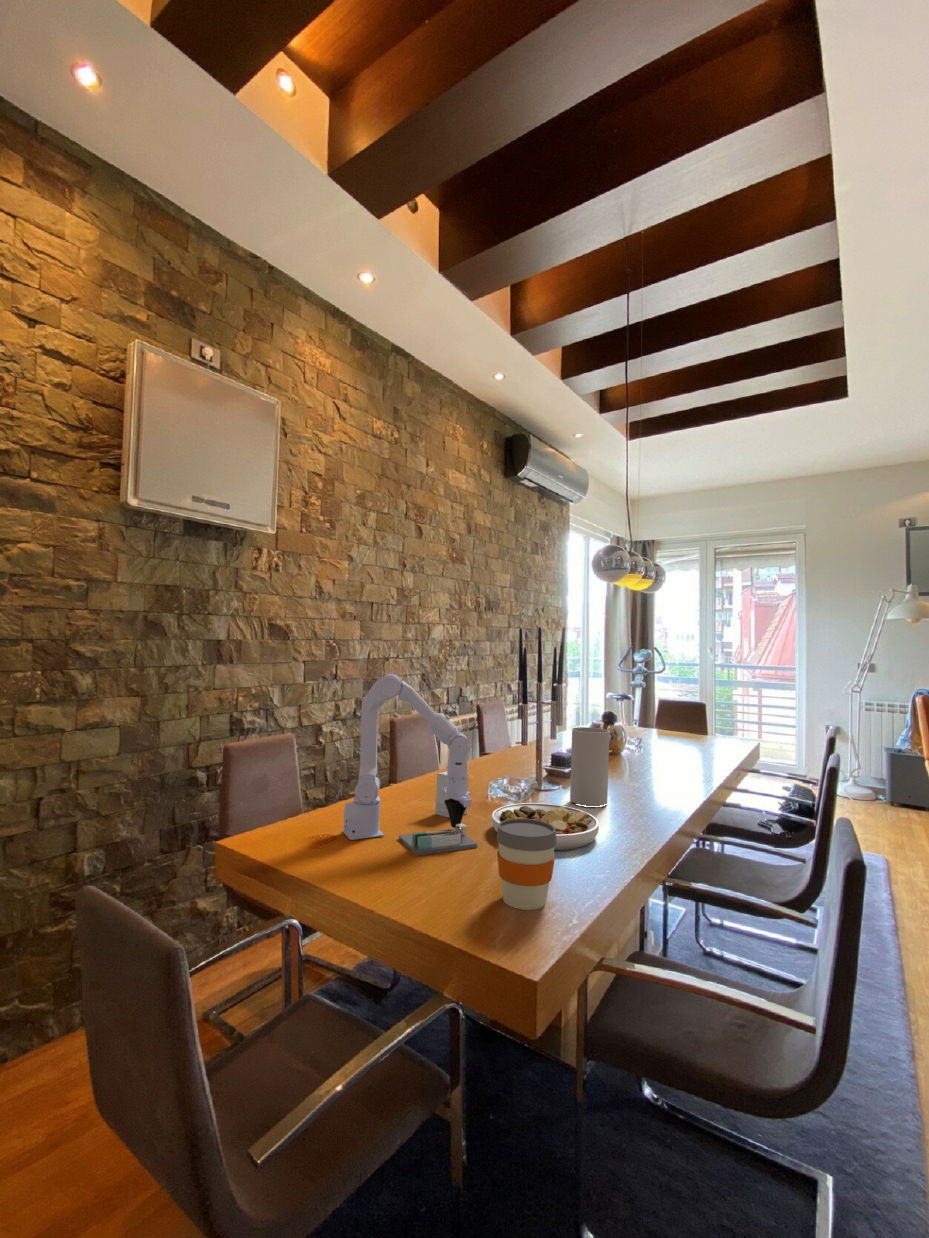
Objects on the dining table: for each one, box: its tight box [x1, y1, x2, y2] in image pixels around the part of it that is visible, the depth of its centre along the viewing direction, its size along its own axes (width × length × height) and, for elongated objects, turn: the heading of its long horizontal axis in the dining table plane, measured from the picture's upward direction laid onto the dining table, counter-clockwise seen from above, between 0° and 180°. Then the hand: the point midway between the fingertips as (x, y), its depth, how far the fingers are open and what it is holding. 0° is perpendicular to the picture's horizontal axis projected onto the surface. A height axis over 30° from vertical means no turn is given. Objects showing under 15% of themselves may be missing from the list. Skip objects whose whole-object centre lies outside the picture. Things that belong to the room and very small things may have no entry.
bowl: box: [491, 802, 600, 851], centre depth 163 cm, size 30×30×8 cm
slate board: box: [398, 828, 478, 856], centre depth 152 cm, size 17×13×1 cm
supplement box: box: [435, 771, 470, 819], centre depth 179 cm, size 7×7×13 cm
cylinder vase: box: [569, 726, 610, 806], centre depth 198 cm, size 12×12×25 cm
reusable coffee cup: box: [496, 819, 557, 911], centre depth 121 cm, size 13×13×15 cm
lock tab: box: [456, 822, 467, 836], centre depth 157 cm, size 2×2×2 cm
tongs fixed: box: [417, 827, 463, 850], centre depth 148 cm, size 13×3×4 cm, turn 116°
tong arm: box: [411, 828, 453, 846], centre depth 149 cm, size 10×2×3 cm, turn 114°
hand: (455, 826), depth 160 cm, fingers closed
